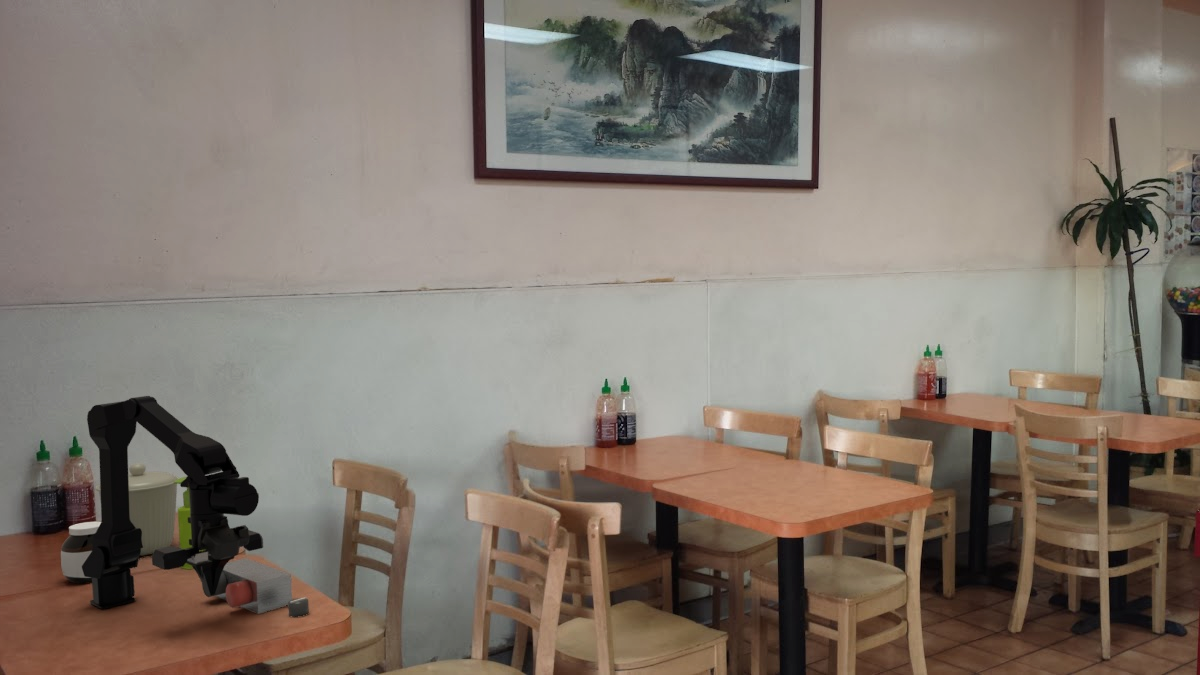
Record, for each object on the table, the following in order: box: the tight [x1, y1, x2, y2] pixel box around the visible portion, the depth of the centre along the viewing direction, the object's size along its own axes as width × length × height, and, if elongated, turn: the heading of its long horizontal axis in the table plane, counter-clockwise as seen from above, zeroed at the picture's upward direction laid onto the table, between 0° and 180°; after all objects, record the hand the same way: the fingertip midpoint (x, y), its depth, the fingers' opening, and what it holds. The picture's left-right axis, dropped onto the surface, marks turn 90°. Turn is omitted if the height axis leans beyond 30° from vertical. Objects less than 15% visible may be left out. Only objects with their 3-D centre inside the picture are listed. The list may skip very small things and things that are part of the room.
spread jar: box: [60, 521, 101, 584], centre depth 216 cm, size 12×11×12 cm
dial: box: [287, 596, 310, 618], centre depth 186 cm, size 4×4×3 cm
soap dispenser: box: [174, 476, 206, 570], centre depth 221 cm, size 6×7×20 cm
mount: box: [215, 557, 293, 615], centre depth 195 cm, size 7×18×6 cm, turn 46°
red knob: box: [226, 578, 293, 609], centre depth 191 cm, size 12×4×4 cm, turn 136°
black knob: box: [201, 572, 227, 598], centre depth 198 cm, size 12×4×4 cm, turn 136°
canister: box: [95, 462, 181, 557], centre depth 235 cm, size 18×18×21 cm
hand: (211, 594), depth 184 cm, fingers closed
